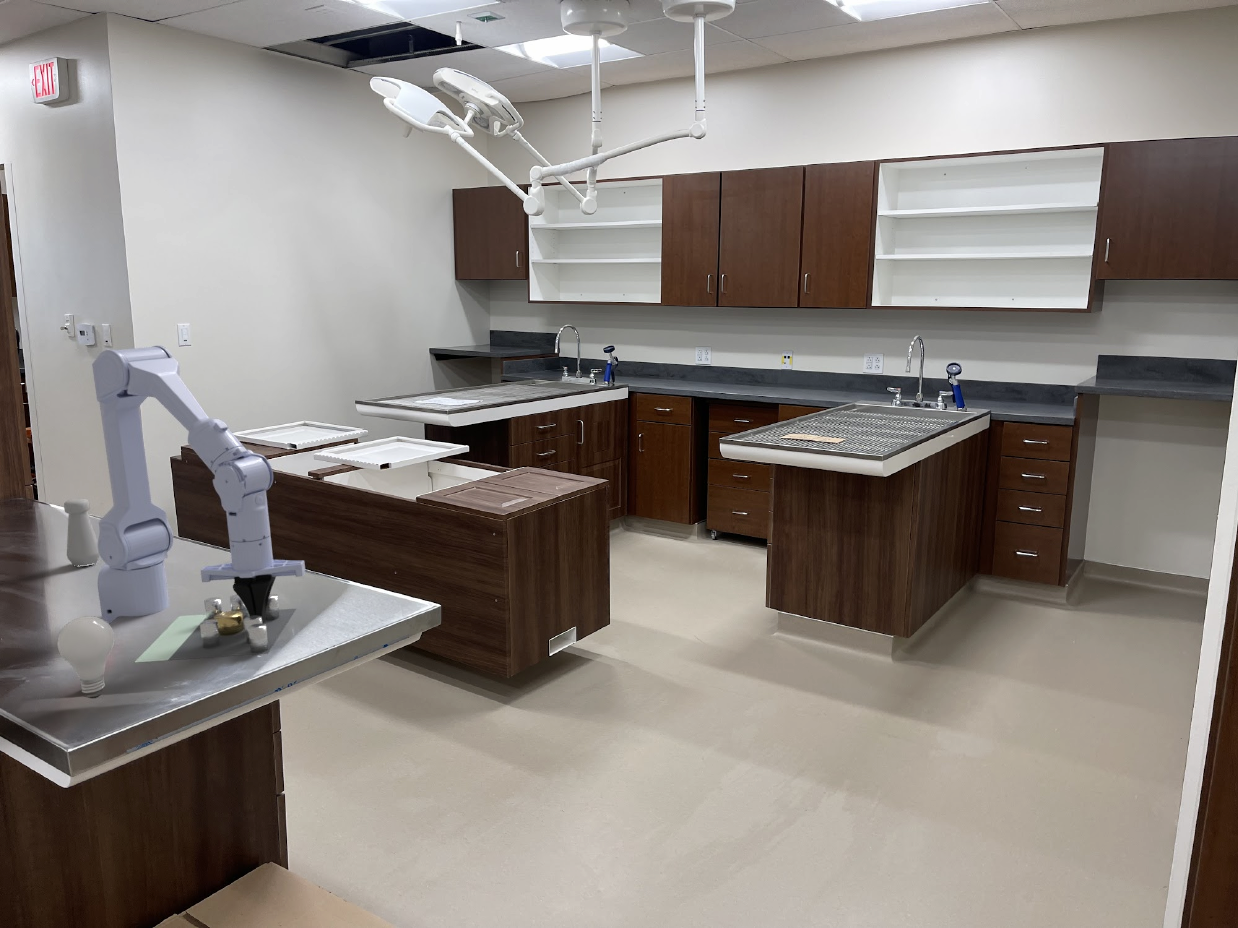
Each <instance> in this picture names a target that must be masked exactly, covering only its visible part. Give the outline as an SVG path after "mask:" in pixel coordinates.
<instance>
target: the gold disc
mask: <svg viewBox="0 0 1238 928" xmlns="http://www.w3.org/2000/svg"><path fill="white" fill-rule="evenodd" d="M214 620H218V626H219V634H220V635H221V636H226V635H233V634H237V633H239V632H241V631H243V630H244V623H243V614H242V612H240V611H231V610H229V611H224V612H223V613H220V614H217V615H216V616H214Z"/></svg>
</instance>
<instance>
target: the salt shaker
mask: <svg viewBox="0 0 1238 928" xmlns="http://www.w3.org/2000/svg"><path fill="white" fill-rule="evenodd" d="M90 507H91V506H90V501H89V500H88V499H87V498H73V499H68V500H67V501H65V502H64V504H63V510H64V513H66V514H68V517H67V521H68V522H67V540H66V541H67V543H66V557H67V560H69V562H70V563H71V564H72V565H75V566H78V565H79V566H80V565H87V564H92V563H96V562H97V561H99V558H100V554H99V552H98V538H97V535H96V532H95V530H94V527H93V525H92V522H91V519H90V516H89V514H88V513H89V512H88V511H89V510H90V509H91V508H90ZM97 563H98V562H97ZM97 563H96V564H97ZM75 566H74V567H75Z"/></svg>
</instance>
